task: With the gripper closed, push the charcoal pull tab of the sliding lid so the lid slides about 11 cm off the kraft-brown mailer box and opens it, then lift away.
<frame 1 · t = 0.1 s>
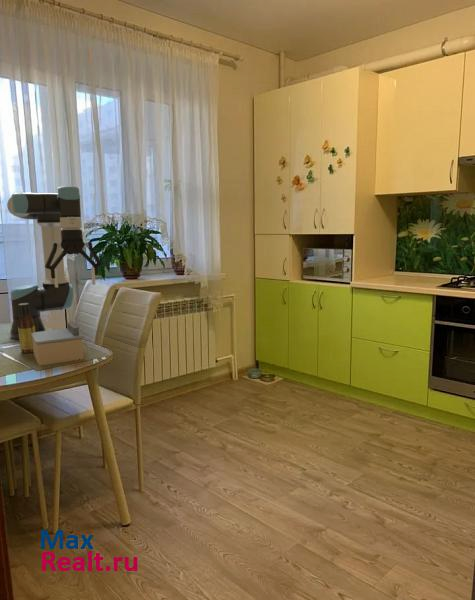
hand: (75, 285, 178), 28 cm above the table, fingers open, 13 cm apart
sauce bottle: (29, 352, 191), on the table
mailer box: (58, 357, 183), on the table
mailer lid: (56, 331, 181), point 10 cm above the table, slide at 0.0 cm
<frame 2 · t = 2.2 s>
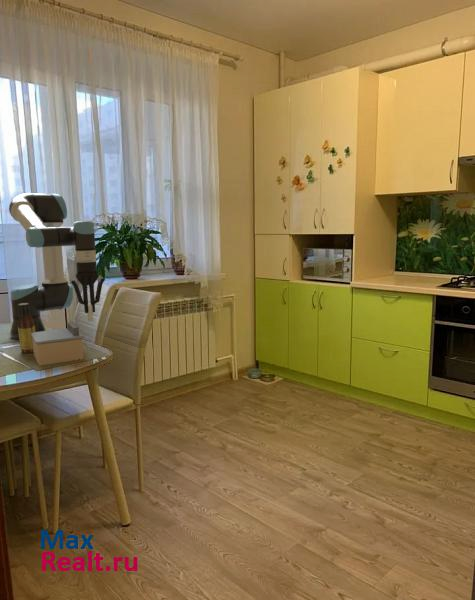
hand: (90, 320, 187), 13 cm above the table, fingers closed
nothing on the table moved.
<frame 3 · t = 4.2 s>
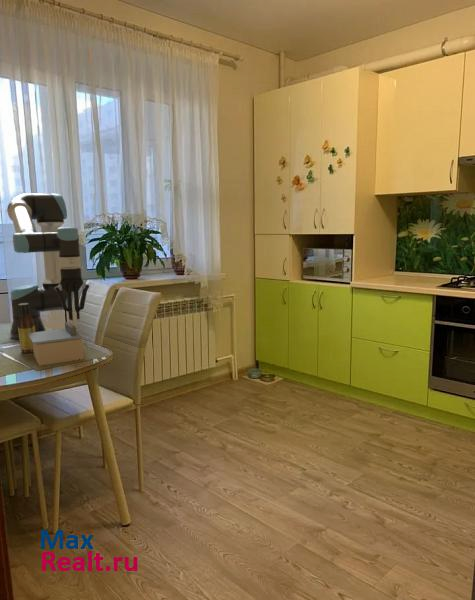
hand: (75, 327, 185), 11 cm above the table, fingers closed
mailer lid: (53, 331, 181), point 10 cm above the table, slide at 1.0 cm, touching gripper
everything else where it was.
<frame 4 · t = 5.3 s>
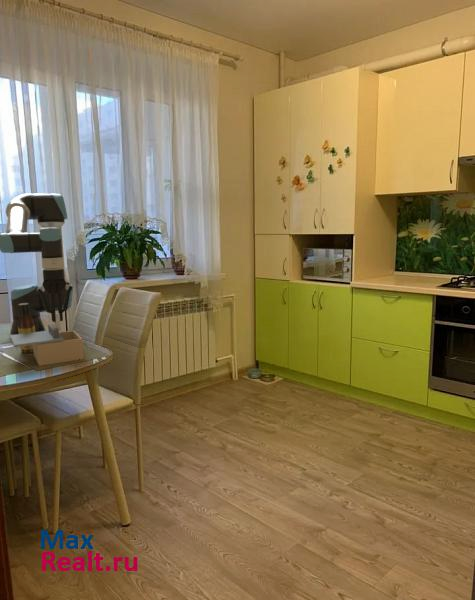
hand: (58, 329, 182), 11 cm above the table, fingers closed
mailer lid: (36, 334, 178), point 10 cm above the table, slide at 7.2 cm, touching gripper
everything else where it was.
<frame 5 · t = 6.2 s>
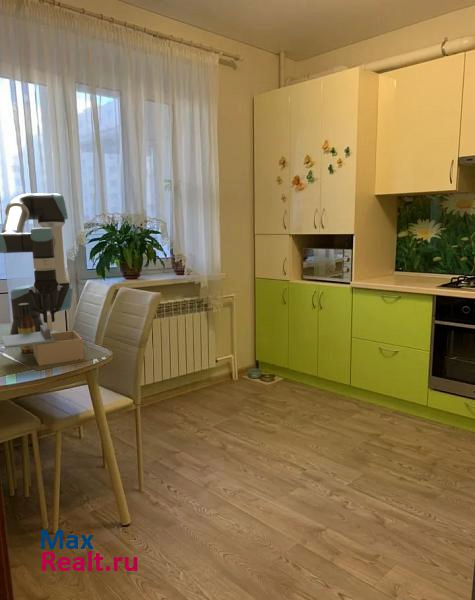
hand: (50, 330, 180), 11 cm above the table, fingers closed
mailer lid: (27, 335, 176), point 10 cm above the table, slide at 10.2 cm, touching gripper
everything else where it was.
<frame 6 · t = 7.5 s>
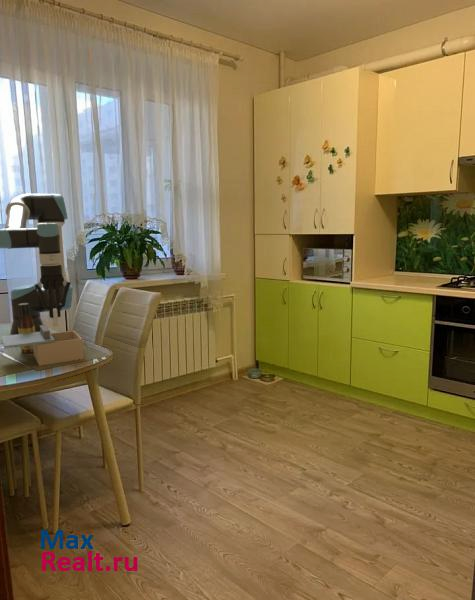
hand: (55, 325, 181), 12 cm above the table, fingers closed
mailer lid: (27, 335, 176), point 10 cm above the table, slide at 10.4 cm
everything else where it was.
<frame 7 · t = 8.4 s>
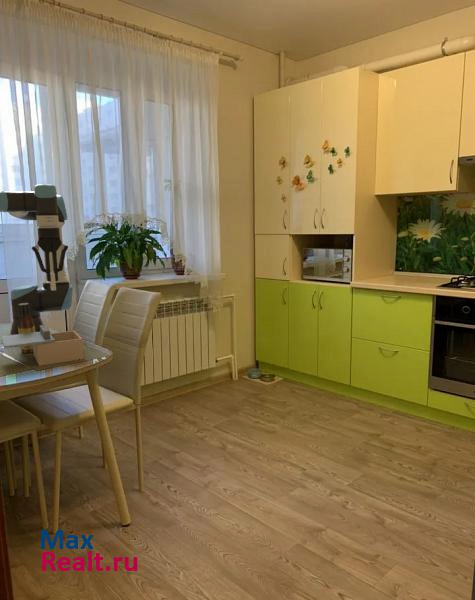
hand: (53, 289, 179), 26 cm above the table, fingers closed
nothing on the table moved.
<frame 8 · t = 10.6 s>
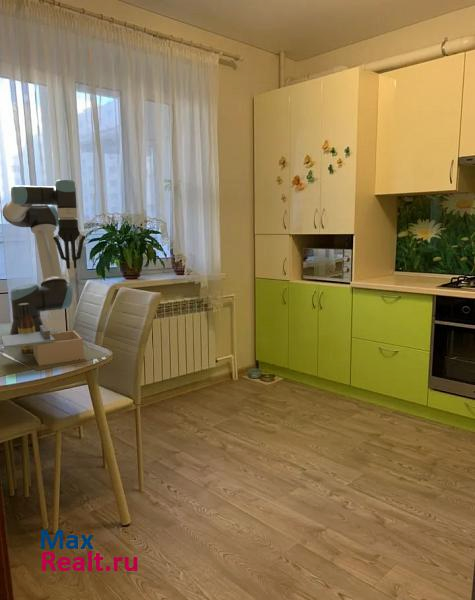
hand: (72, 276, 196), 29 cm above the table, fingers closed
nothing on the table moved.
at the end: mailer lid slide at 10.4 cm; sauce bottle moved 0.2 cm from its start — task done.
